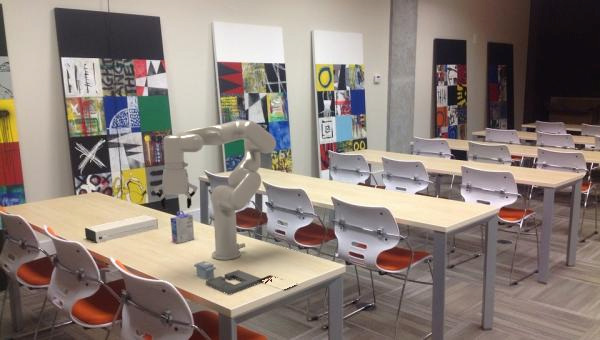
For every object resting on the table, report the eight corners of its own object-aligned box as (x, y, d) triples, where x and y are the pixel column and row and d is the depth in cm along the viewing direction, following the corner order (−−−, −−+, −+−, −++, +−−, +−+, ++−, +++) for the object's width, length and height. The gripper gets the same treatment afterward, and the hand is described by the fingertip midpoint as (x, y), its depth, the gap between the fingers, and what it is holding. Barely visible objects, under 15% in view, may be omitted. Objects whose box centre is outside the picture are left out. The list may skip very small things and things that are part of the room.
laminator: (147, 225, 283) (146, 214, 282) (159, 229, 275) (158, 218, 274) (85, 239, 259) (84, 227, 258) (97, 244, 250) (96, 232, 249)
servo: (202, 271, 212) (202, 258, 211) (216, 277, 205) (215, 263, 205) (194, 274, 209) (193, 261, 208) (207, 280, 203) (207, 266, 202)
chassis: (238, 273, 209) (238, 269, 209) (261, 282, 200) (261, 278, 199) (205, 284, 198) (205, 281, 197) (229, 294, 188) (228, 290, 188)
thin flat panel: (269, 275, 206) (298, 284, 196) (269, 276, 206) (298, 285, 197) (256, 280, 201) (285, 290, 191) (256, 282, 201) (285, 291, 191)
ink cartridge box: (188, 237, 260) (186, 209, 257) (194, 239, 256) (193, 210, 253) (171, 241, 252) (169, 212, 250) (177, 243, 249) (176, 214, 246)
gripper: (197, 164, 211) (199, 205, 214) (154, 165, 210) (156, 206, 213) (195, 167, 204) (197, 209, 207) (150, 168, 203) (153, 210, 206)
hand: (176, 207), depth 210 cm, fingers open, 9 cm apart
